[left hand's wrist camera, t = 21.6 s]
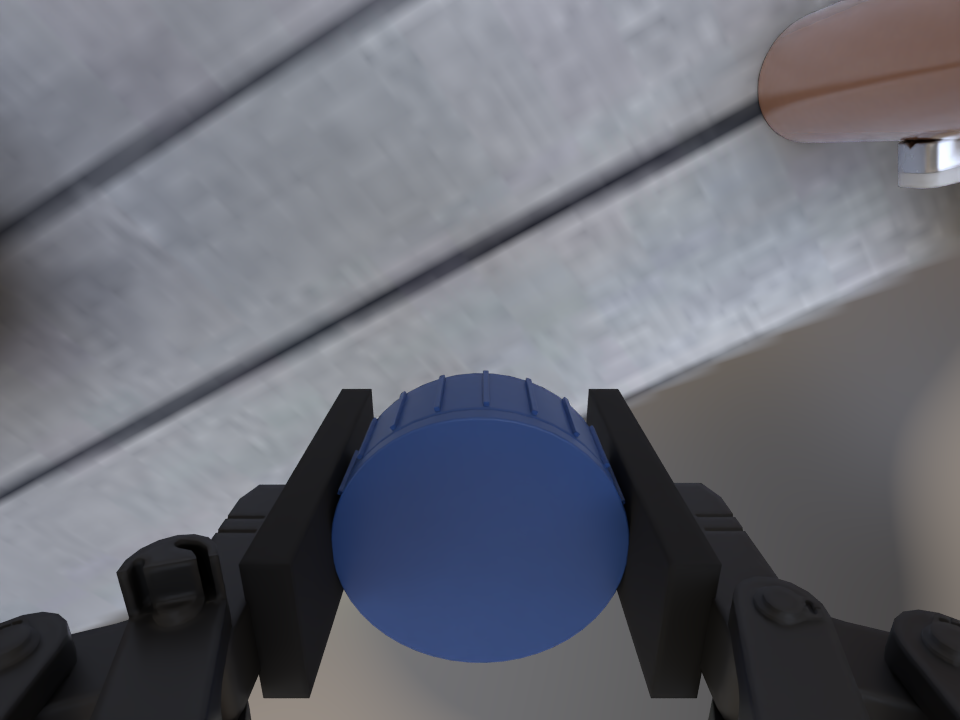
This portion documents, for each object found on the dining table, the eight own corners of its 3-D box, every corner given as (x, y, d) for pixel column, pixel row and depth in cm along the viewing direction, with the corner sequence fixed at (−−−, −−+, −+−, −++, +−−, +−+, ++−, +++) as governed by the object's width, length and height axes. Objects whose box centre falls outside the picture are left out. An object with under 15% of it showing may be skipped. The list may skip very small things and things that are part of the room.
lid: (643, 539, 13) (673, 610, 11) (423, 618, 14) (413, 698, 12) (550, 325, 11) (565, 363, 9) (304, 432, 12) (268, 488, 10)
